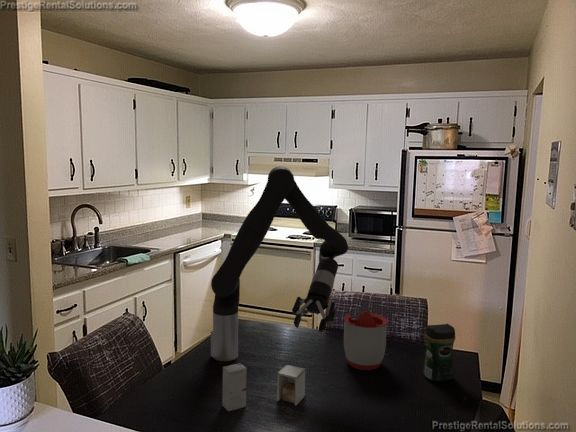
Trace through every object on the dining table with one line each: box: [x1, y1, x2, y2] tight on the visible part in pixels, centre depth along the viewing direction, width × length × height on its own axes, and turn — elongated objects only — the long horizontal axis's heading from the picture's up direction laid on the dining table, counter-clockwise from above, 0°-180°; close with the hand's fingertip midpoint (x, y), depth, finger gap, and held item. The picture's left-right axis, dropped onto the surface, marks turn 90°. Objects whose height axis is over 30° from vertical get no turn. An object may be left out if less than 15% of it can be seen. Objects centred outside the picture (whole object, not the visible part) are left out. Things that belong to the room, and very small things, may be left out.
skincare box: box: [222, 362, 247, 412], centre depth 140 cm, size 6×4×12 cm
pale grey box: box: [276, 364, 306, 407], centre depth 145 cm, size 6×6×9 cm
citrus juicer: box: [343, 310, 389, 371], centre depth 170 cm, size 16×17×20 cm
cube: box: [281, 382, 295, 404], centre depth 145 cm, size 4×4×4 cm
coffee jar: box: [423, 323, 456, 382], centre depth 161 cm, size 10×8×19 cm
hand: (308, 328), depth 153 cm, fingers open, 8 cm apart
